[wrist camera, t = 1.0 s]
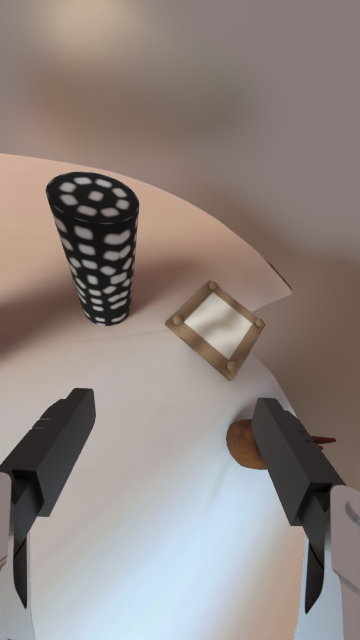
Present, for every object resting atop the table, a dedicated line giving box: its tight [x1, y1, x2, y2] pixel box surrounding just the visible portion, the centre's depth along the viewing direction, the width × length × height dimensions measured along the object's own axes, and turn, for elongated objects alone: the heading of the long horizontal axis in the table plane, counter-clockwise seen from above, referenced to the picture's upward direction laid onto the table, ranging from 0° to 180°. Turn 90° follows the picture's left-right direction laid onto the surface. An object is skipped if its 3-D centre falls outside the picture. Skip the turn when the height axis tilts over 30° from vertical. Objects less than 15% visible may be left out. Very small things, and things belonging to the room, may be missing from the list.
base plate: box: [165, 281, 265, 381], centre depth 39 cm, size 16×16×2 cm
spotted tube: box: [46, 172, 139, 326], centre depth 27 cm, size 8×8×20 cm
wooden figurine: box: [226, 419, 336, 470], centre depth 24 cm, size 7×6×15 cm
